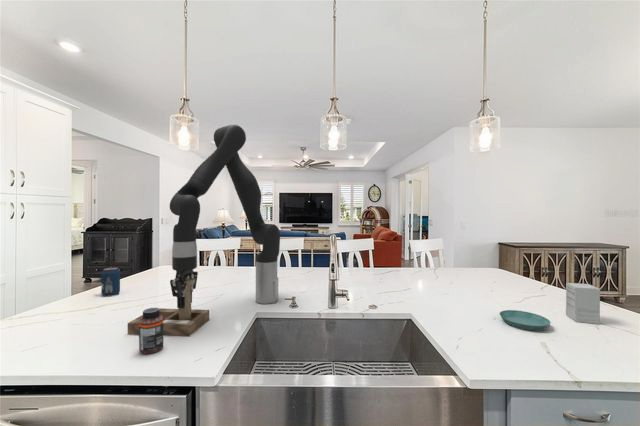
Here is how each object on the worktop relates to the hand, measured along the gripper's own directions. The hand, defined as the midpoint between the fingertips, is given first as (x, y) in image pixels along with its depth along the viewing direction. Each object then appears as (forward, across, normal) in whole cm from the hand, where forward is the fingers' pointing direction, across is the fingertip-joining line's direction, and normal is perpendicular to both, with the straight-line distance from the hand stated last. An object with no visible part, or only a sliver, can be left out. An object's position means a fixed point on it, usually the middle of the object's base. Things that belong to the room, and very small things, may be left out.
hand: (184, 305), depth 99 cm
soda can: (+7, +33, +53) cm, 62 cm away
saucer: (+8, +12, -116) cm, 117 cm away
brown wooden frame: (+7, 0, +5) cm, 9 cm away
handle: (+6, 0, 0) cm, 6 cm away
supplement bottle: (+7, -16, +1) cm, 18 cm away
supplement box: (+8, +18, -140) cm, 142 cm away
